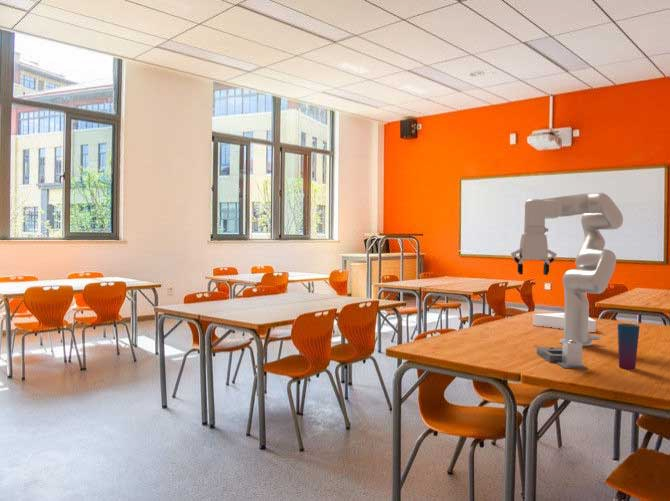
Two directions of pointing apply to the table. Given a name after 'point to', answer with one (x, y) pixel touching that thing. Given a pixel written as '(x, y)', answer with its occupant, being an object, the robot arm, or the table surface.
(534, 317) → the flat white box
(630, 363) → the cup
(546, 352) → the dark grey flat block
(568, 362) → the white upright block
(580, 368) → the mat
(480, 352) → the table surface
